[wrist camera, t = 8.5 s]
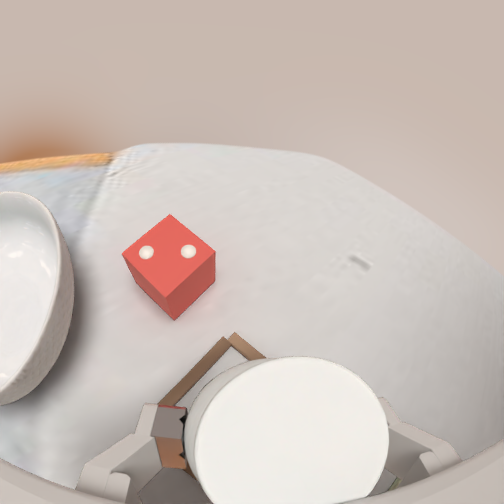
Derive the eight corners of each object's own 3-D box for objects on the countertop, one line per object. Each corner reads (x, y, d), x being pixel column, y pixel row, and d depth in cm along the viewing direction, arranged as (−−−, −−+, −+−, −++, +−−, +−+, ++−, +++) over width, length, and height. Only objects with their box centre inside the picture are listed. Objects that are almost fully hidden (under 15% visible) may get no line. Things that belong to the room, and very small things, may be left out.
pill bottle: (252, 359, 16) (294, 285, 7) (324, 425, 14) (441, 421, 6) (176, 425, 14) (116, 437, 5) (252, 495, 12) (297, 582, 3)
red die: (214, 281, 23) (215, 250, 19) (174, 320, 21) (165, 296, 17) (175, 247, 25) (169, 213, 21) (136, 282, 22) (121, 252, 19)
